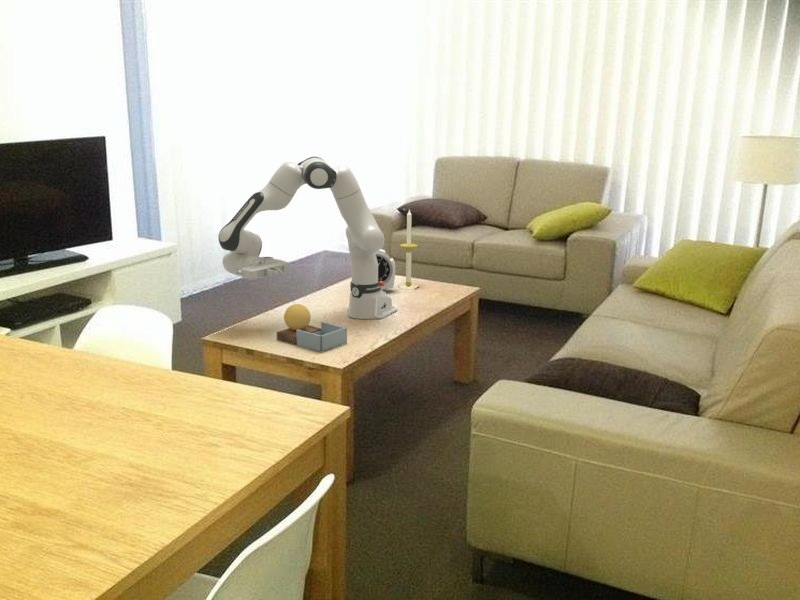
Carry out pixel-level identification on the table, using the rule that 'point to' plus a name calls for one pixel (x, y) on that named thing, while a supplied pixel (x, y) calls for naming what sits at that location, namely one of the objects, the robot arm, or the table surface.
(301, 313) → the ball
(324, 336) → the tray
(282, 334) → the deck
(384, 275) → the alarm clock
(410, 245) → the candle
